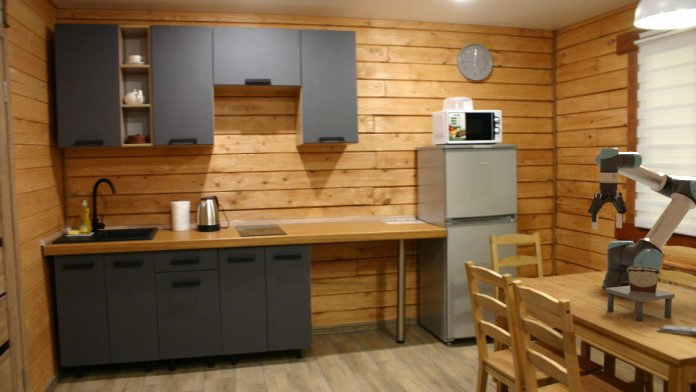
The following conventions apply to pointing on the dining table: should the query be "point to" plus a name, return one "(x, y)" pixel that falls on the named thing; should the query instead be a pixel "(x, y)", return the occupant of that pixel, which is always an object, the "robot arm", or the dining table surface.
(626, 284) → the pottery mug
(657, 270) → the food container
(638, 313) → the small gray table
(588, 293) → the dining table surface
